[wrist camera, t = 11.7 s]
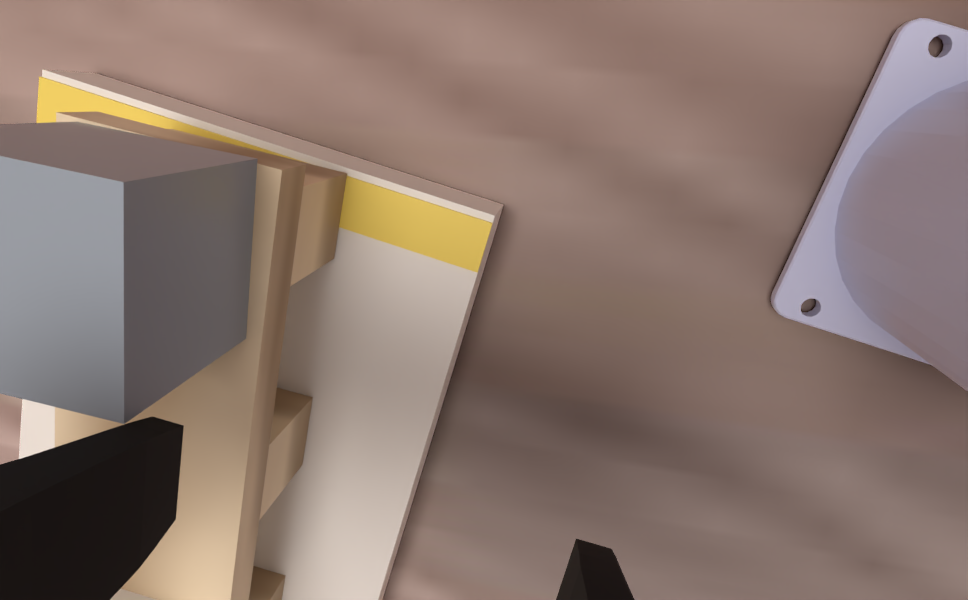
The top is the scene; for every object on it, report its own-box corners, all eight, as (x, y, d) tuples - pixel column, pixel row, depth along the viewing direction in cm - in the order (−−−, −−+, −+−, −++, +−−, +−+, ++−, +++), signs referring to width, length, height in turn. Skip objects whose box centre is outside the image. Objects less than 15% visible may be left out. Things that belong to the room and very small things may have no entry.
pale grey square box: (257, 158, 13) (123, 181, 9) (246, 338, 14) (124, 424, 10) (76, 121, 13) (-125, 129, 10) (81, 300, 15) (-95, 369, 11)
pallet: (350, 154, 17) (282, 169, 13) (275, 640, 22) (212, 751, 18) (172, 110, 17) (55, 111, 13) (142, 599, 23) (53, 699, 19)
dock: (503, 204, 19) (494, 216, 17) (372, 634, 24) (352, 681, 22) (95, 73, 19) (39, 69, 17) (56, 519, 25) (10, 556, 23)
